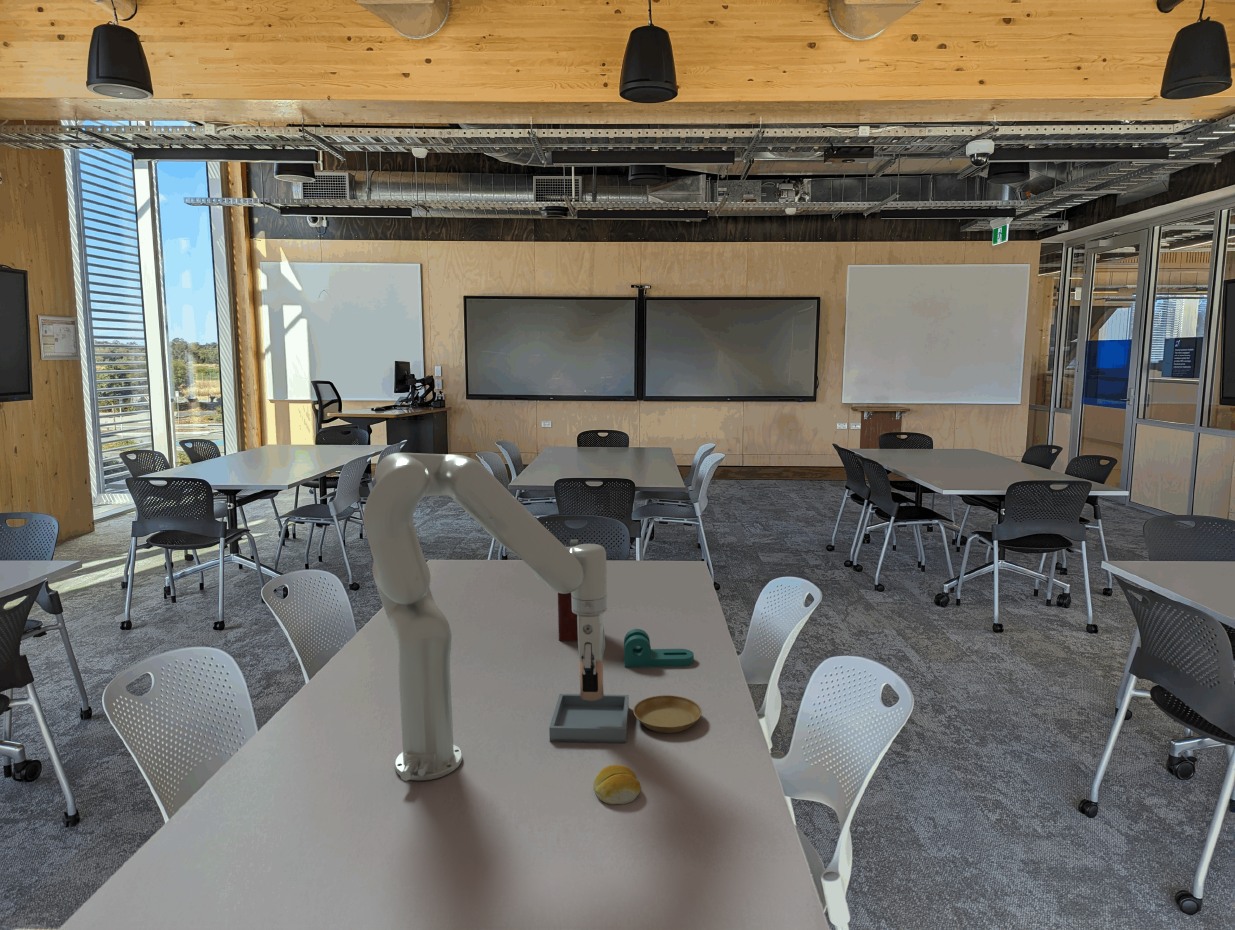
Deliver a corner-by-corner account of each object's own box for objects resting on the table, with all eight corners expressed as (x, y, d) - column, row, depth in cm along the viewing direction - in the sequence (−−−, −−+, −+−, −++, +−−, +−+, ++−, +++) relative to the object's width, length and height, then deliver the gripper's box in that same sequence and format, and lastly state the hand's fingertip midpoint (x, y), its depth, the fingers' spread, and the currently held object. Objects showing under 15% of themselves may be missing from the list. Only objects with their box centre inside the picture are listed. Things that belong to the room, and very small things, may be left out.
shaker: (603, 700, 152) (601, 655, 151) (578, 700, 152) (577, 655, 151) (604, 689, 157) (603, 645, 156) (581, 689, 157) (579, 645, 156)
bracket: (624, 668, 185) (624, 638, 184) (624, 657, 192) (623, 629, 191) (695, 667, 185) (695, 637, 184) (692, 656, 192) (692, 628, 191)
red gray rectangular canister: (598, 641, 203) (597, 543, 199) (558, 640, 203) (556, 543, 200) (600, 629, 212) (599, 536, 208) (562, 629, 212) (560, 536, 208)
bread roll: (632, 775, 136) (632, 755, 136) (644, 802, 128) (644, 781, 127) (589, 781, 134) (588, 760, 134) (598, 809, 126) (598, 787, 125)
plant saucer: (644, 742, 148) (644, 730, 147) (625, 710, 162) (625, 699, 162) (712, 733, 152) (712, 721, 151) (687, 702, 166) (687, 691, 165)
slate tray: (625, 742, 147) (625, 729, 147) (549, 741, 148) (549, 727, 148) (628, 707, 163) (628, 694, 162) (559, 706, 164) (559, 693, 163)
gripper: (604, 617, 143) (606, 704, 146) (609, 590, 160) (611, 668, 163) (566, 617, 144) (569, 703, 146) (576, 590, 161) (578, 668, 163)
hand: (591, 684), depth 154 cm, fingers closed on shaker, 5 cm apart
